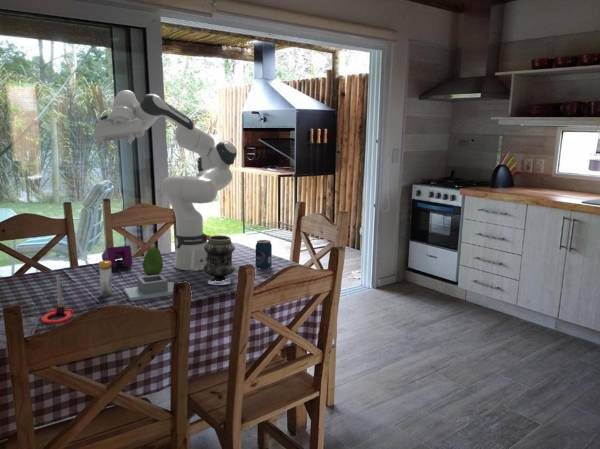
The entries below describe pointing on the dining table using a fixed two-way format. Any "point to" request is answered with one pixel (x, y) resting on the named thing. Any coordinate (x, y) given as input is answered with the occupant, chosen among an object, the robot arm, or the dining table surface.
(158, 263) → the avocado
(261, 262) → the soda can
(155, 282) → the grey box on plate
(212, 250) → the ornate stone vase
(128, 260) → the mounting bracket
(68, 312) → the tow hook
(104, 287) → the white gold-topped cylinder
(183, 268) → the robot arm
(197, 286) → the dining table surface
